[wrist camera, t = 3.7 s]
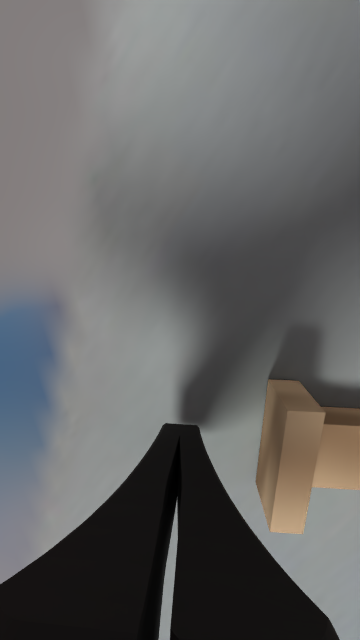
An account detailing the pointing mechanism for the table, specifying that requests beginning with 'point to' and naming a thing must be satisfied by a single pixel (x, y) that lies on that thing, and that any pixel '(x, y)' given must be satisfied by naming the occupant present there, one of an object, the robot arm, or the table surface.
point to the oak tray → (303, 453)
